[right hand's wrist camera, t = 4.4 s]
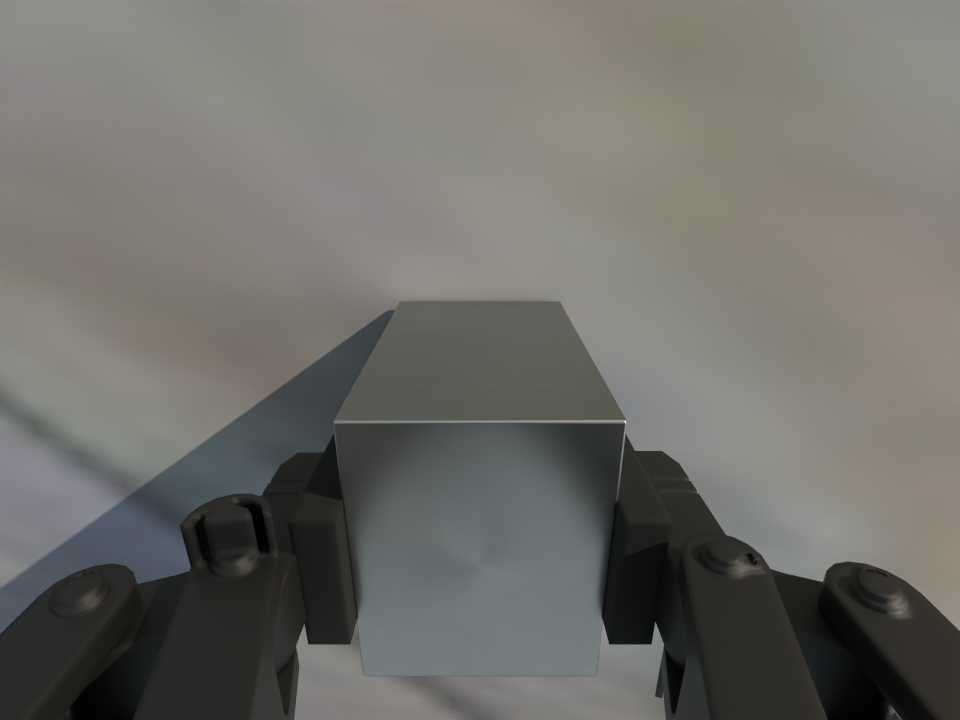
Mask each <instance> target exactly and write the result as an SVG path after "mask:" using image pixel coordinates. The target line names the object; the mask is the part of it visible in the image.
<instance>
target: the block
mask: <svg viewBox="0 0 960 720" xmlns="http://www.w3.org/2000/svg"><path fill="white" fill-rule="evenodd" d="M626 426H627V421H626V419H625V417H624V415H623V413H622V412H621V410H620V408H619V406H618V405H617V403H616V401H615V399H614V397H613V396H612V394H611V392H610V390H609V389H608V387H607V385H606V383H605V381H604V380H603V378H602V376H601V374H600V372H599V371H598V369H597V367H596V365H595V364H594V362H593V360H592V358H591V356H590V355H589V353H588V351H587V349H586V348H585V346H584V344H583V342H582V340H581V339H580V337H579V335H578V333H577V332H576V330H575V328H574V326H573V324H572V323H571V321H570V319H569V317H568V315H567V314H566V312H565V310H564V308H563V307H562V305H561V303H560V302H400V303H399V305H398V306H397V308H396V310H395V312H394V314H393V315H392V317H391V319H390V321H389V322H388V324H387V326H386V328H385V330H384V331H383V333H382V335H381V337H380V338H379V340H378V342H377V344H376V346H375V347H374V349H373V351H372V353H371V354H370V356H369V358H368V360H367V362H366V363H365V365H364V367H363V369H362V370H361V372H360V374H359V376H358V378H357V379H356V381H355V383H354V385H353V386H352V388H351V390H350V392H349V394H348V395H347V397H346V399H345V401H344V402H343V404H342V406H341V408H340V410H339V411H338V413H337V415H336V417H335V418H334V420H333V427H334V436H335V444H336V452H337V461H338V469H339V477H340V486H341V494H342V501H343V508H344V517H345V525H346V533H347V542H348V550H349V558H350V567H351V575H352V583H353V592H354V600H355V608H356V617H357V627H358V635H359V644H360V652H361V660H362V669H363V675H364V676H596V674H597V667H598V659H599V651H600V642H601V634H602V626H603V614H604V606H605V598H606V589H607V581H608V573H609V564H610V556H611V547H612V539H613V531H614V522H615V514H616V506H617V500H618V492H619V484H620V476H621V467H622V459H623V451H624V442H625V434H626Z"/></svg>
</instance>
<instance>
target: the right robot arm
mask: <svg viewBox="0 0 960 720" xmlns="http://www.w3.org/2000/svg"><path fill="white" fill-rule="evenodd" d="M180 528H181V531H182V535H183V539H184V543H185V546H186V550H187V554H188V558H189V561H190V565H191V569H190V571H189V572H185V573H182V574H179V575H176V576H171V577H167V578H163V579H158V580H154V581H150V582H145V583H141V584H137V582H136V579H135V576H134V573H133V572H132V571H131V570H130V569H129V568H127V567H126V566H122V565H117V564H107V565H99V566H93V567H90V568H87V569H84V570H81V571H78V572H76V573H73V574H71V575H70V576H68V577H66V578H64V579H62V580H60V581H58V582H57V583H55V584H54V585H52V586H51V587H50V588H49V589H47V590H46V591H45V592H43V593H42V594H41V595H40V596H38V597H37V598H36V599H35V600H34V601H33V602H32V603H31V604H30V605H29V606H28V607H27V608H26V609H25V610H24V611H23V612H22V613H21V614H20V615H19V616H18V617H17V618H16V619H15V620H14V621H13V622H12V623H11V624H10V625H9V626H8V627H7V628H6V629H5V630H4V631H3V632H2V633H1V634H0V720H294V715H295V705H296V694H297V684H298V673H299V661H298V654H297V649H296V644H297V641H298V639H299V636H300V634H301V631H302V628H303V626H304V623H305V628H306V634H307V640H308V644H350V643H351V640H352V636H353V632H354V628H355V625H356V621H357V617H356V608H355V600H354V592H353V583H352V575H351V567H350V558H349V550H348V542H347V533H346V525H345V517H344V508H343V501H342V494H341V486H340V477H339V469H338V461H337V452H336V444H335V436H334V435H333V437H332V438H331V440H330V442H329V444H328V446H327V448H326V450H325V452H324V453H297V454H296V455H294V456H293V457H291V458H290V459H289V460H287V461H286V462H285V463H283V464H282V465H281V466H280V467H279V469H278V470H277V472H276V473H275V475H274V477H273V478H272V480H271V483H269V484H268V486H267V487H266V489H265V490H264V492H263V495H261V496H257V495H253V494H233V495H229V496H224V497H220V498H217V499H215V500H212V501H210V502H208V503H205V504H203V505H201V506H200V507H198V508H197V509H196V510H194V511H193V512H191V513H190V514H189V515H188V516H187V517H186V518H185V520H184V521H183V522H182V524H181V525H180ZM655 621H656V624H657V627H658V629H659V632H660V634H661V637H662V640H663V642H664V649H663V654H662V660H661V665H660V671H659V676H658V682H657V688H656V695H655V697H660V698H662V695H663V693H664V703H665V714H666V720H900V718H901V719H902V720H960V631H959V630H958V629H957V628H956V627H955V626H954V625H953V624H952V623H951V622H950V621H949V620H948V619H947V618H946V617H945V616H944V615H943V614H942V613H941V612H940V611H939V610H938V609H937V608H936V607H935V606H934V605H932V604H931V603H930V602H929V601H928V600H927V599H926V598H925V597H924V596H923V595H922V594H921V593H920V592H919V591H917V590H916V589H915V588H914V587H912V586H911V585H910V584H908V583H907V582H906V581H904V580H903V579H901V578H899V577H897V576H895V575H893V574H891V573H889V572H887V571H886V570H883V569H880V568H877V567H874V566H871V565H868V564H863V563H855V562H843V563H837V564H834V565H833V566H831V567H830V568H829V569H828V570H827V571H826V575H825V578H824V581H823V582H820V581H815V580H811V579H807V578H802V577H798V576H793V575H789V574H785V573H781V572H778V571H775V570H771V569H770V568H769V566H768V565H767V563H766V562H765V560H764V559H763V557H762V555H760V554H759V553H758V552H757V551H756V550H754V549H753V548H752V547H751V546H749V545H748V544H746V543H744V542H742V541H740V540H738V539H736V538H734V537H731V536H727V535H725V533H724V531H723V530H722V528H721V527H720V525H719V524H718V522H717V521H716V519H715V518H714V516H713V515H712V513H711V512H710V510H709V509H708V507H707V505H706V504H705V502H704V501H703V499H702V498H701V496H700V495H699V494H697V490H696V489H695V487H694V486H693V484H692V483H691V481H689V478H688V476H687V475H686V473H685V472H684V470H683V469H682V467H681V466H680V464H679V463H677V462H676V461H675V460H673V459H672V458H671V457H669V456H668V455H667V454H665V453H664V452H662V451H635V450H634V449H633V447H632V445H631V443H630V441H629V439H628V437H627V435H626V434H625V442H624V451H623V459H622V467H621V476H620V484H619V492H618V500H617V506H616V514H615V522H614V531H613V539H612V547H611V556H610V564H609V573H608V581H607V589H606V598H605V606H604V614H603V622H604V626H605V630H606V633H607V637H608V641H609V644H652V638H653V632H654V626H655ZM894 711H896V713H897V714H898V715H899V717H900V718H899V717H898V716H897V714H896V713H895V712H894ZM65 713H66V714H65ZM63 716H64V717H63ZM62 717H63V718H62Z"/></svg>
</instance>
